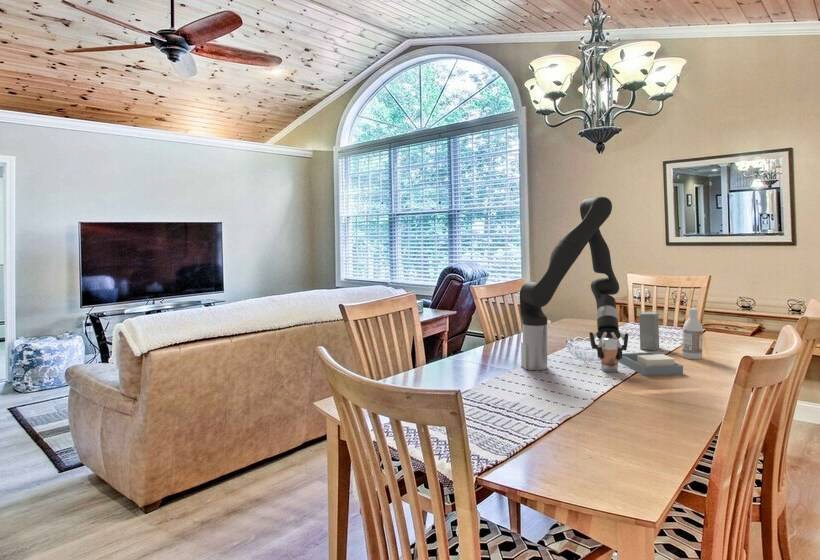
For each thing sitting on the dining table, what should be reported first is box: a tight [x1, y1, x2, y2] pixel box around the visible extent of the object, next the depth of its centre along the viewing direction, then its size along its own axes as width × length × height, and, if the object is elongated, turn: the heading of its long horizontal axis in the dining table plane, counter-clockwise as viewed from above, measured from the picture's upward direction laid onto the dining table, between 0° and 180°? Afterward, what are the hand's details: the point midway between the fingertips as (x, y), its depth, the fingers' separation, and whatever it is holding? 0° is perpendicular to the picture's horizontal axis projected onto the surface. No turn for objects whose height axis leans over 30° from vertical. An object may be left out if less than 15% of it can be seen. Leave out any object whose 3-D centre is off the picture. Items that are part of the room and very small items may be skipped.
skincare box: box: [638, 311, 660, 351], centre depth 221 cm, size 8×7×16 cm
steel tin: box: [600, 337, 619, 374], centre depth 185 cm, size 6×6×13 cm
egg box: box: [637, 353, 675, 367], centre depth 184 cm, size 10×7×5 cm
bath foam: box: [681, 307, 704, 361], centre depth 203 cm, size 7×7×20 cm
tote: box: [618, 351, 684, 377], centre depth 188 cm, size 14×20×4 cm
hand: (610, 358), depth 183 cm, fingers closed on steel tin, 5 cm apart
